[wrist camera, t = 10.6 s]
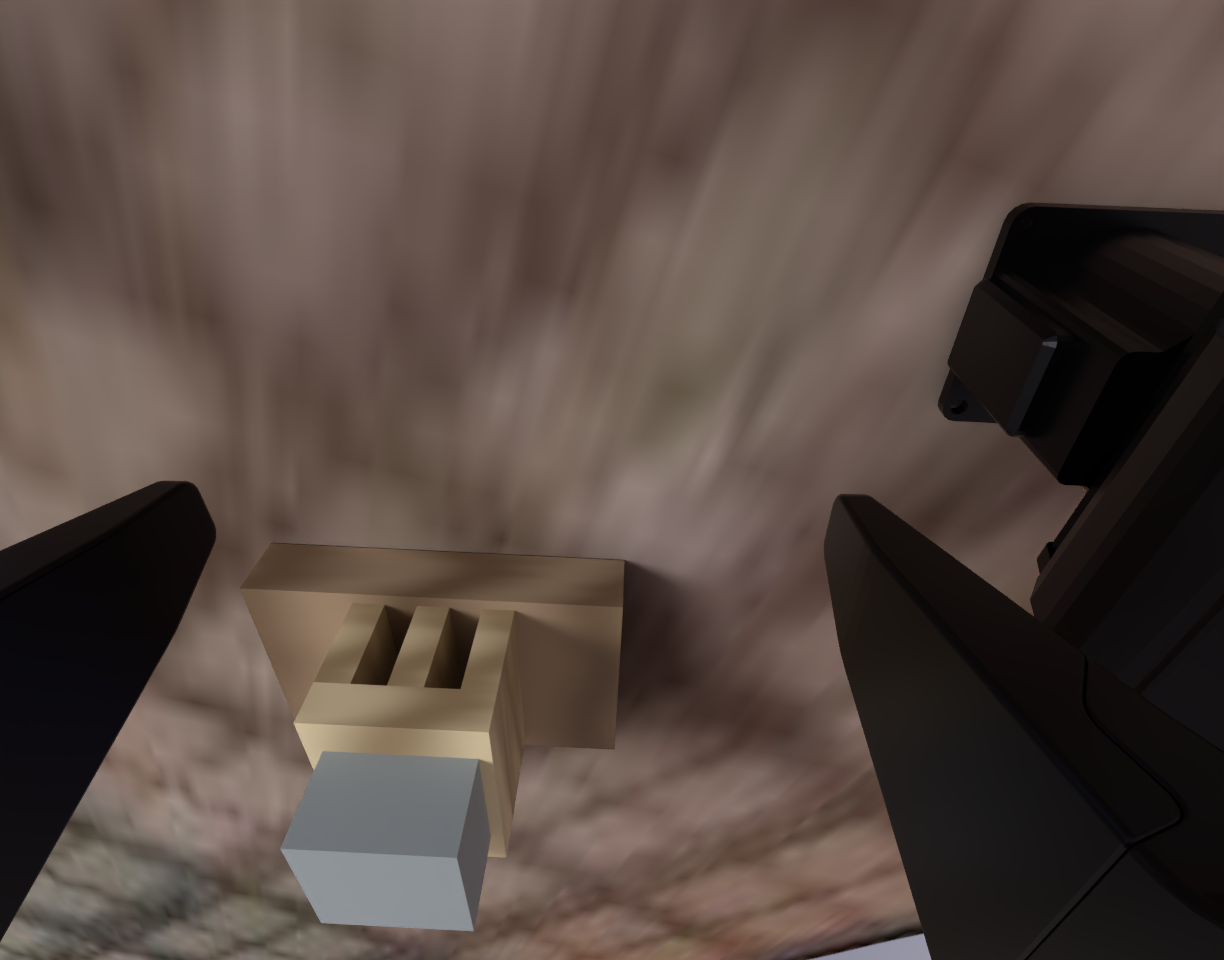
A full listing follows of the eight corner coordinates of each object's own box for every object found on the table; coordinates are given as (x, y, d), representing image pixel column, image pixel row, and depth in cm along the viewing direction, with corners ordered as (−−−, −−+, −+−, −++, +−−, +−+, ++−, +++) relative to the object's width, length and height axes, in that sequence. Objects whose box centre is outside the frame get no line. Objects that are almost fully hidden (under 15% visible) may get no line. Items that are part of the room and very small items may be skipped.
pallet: (514, 610, 24) (488, 732, 20) (525, 737, 29) (506, 857, 25) (352, 603, 24) (293, 722, 20) (389, 731, 29) (347, 849, 25)
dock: (624, 560, 26) (623, 607, 24) (616, 701, 31) (614, 749, 29) (271, 543, 26) (239, 588, 24) (322, 686, 31) (300, 733, 29)
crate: (478, 758, 21) (456, 857, 18) (490, 836, 24) (473, 930, 21) (322, 751, 21) (280, 848, 18) (354, 829, 24) (321, 922, 21)
